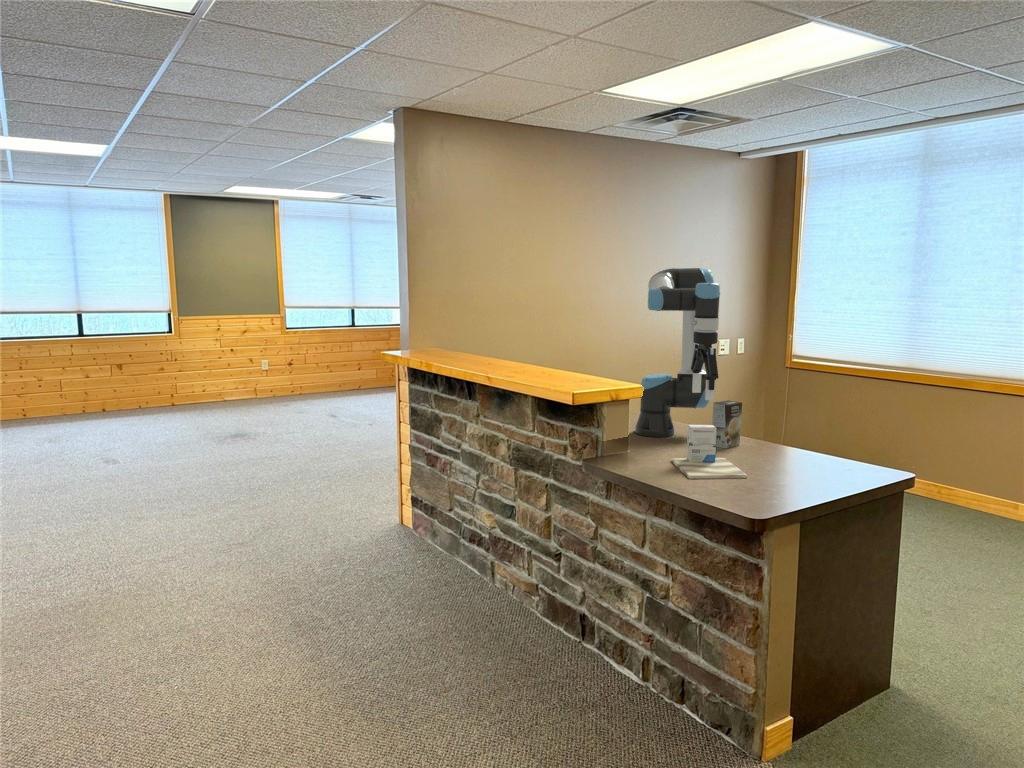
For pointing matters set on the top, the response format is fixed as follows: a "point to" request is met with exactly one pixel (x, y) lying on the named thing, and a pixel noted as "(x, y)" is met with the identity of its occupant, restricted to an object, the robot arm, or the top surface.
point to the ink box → (701, 443)
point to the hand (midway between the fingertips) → (702, 396)
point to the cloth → (708, 469)
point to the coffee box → (727, 423)
